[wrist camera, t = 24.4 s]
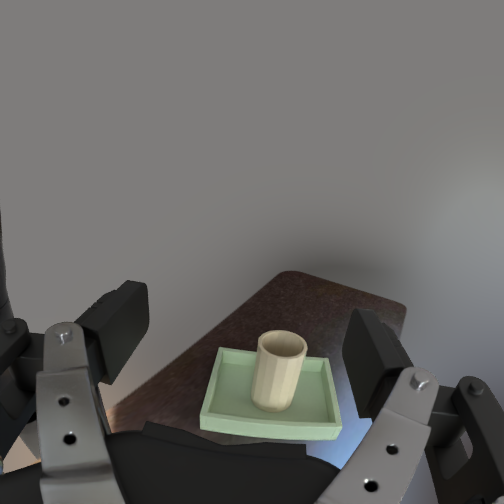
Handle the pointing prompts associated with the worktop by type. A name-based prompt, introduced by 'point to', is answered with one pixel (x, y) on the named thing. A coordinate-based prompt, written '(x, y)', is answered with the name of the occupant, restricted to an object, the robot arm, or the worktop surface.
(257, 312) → the worktop surface
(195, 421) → the worktop surface
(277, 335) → the cup
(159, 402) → the worktop surface
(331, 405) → the tray
